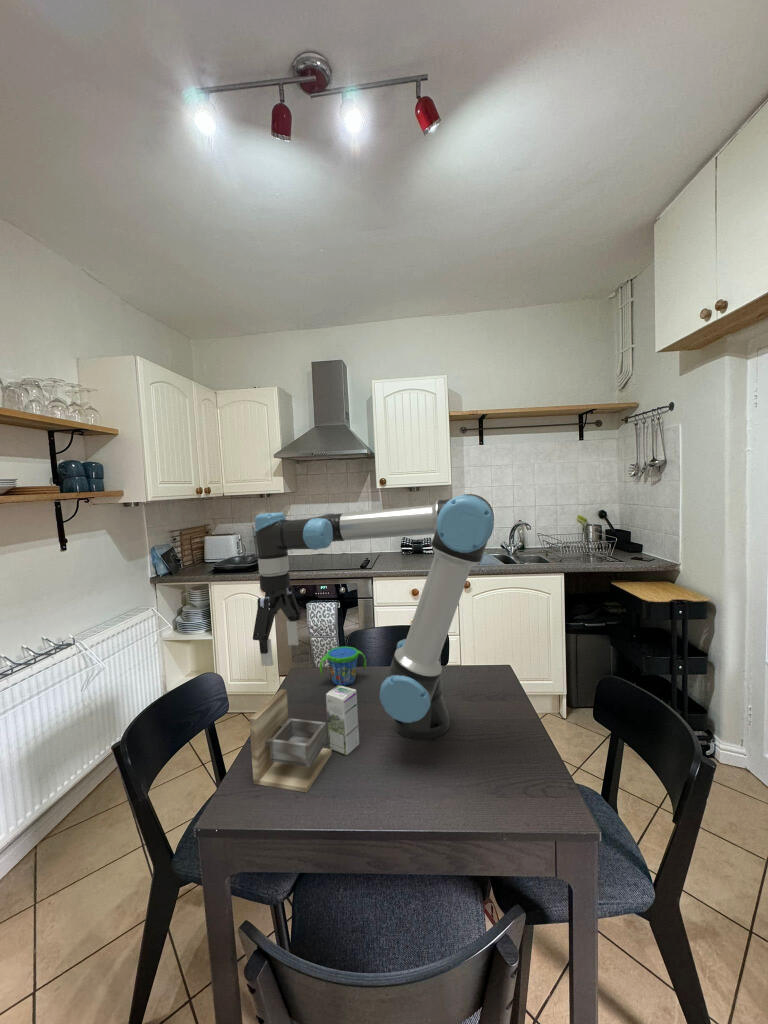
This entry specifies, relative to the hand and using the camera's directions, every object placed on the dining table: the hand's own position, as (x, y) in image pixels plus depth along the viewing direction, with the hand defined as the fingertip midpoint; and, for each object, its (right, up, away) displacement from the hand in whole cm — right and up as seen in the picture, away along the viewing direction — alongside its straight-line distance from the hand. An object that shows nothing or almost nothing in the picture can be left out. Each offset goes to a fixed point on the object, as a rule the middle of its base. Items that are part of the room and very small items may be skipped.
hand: (281, 654), depth 113 cm
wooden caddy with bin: (+6, -23, -11) cm, 26 cm away
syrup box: (+17, -22, -3) cm, 28 cm away
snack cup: (+13, -20, +33) cm, 41 cm away
